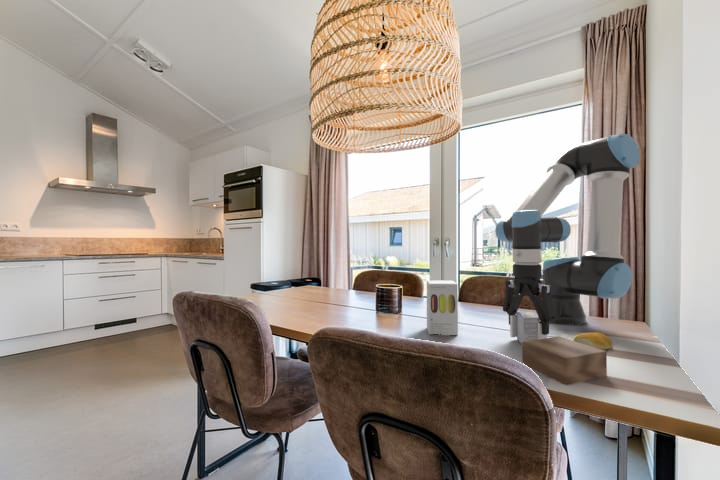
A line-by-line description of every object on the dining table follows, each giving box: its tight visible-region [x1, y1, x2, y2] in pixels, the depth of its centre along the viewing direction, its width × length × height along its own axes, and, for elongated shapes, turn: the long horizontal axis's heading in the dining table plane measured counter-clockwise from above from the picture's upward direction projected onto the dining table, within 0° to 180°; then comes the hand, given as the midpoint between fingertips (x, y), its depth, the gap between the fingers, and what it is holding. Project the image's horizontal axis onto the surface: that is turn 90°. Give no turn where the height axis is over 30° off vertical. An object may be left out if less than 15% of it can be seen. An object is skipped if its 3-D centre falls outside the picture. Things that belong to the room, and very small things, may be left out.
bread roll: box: [573, 331, 613, 350], centre depth 96 cm, size 8×9×4 cm
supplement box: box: [426, 279, 459, 336], centre depth 113 cm, size 10×9×17 cm
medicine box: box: [515, 311, 540, 345], centre depth 98 cm, size 8×4×9 cm, turn 168°
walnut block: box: [521, 336, 608, 386], centre depth 79 cm, size 12×12×6 cm
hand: (528, 340), depth 98 cm, fingers closed on medicine box, 9 cm apart
